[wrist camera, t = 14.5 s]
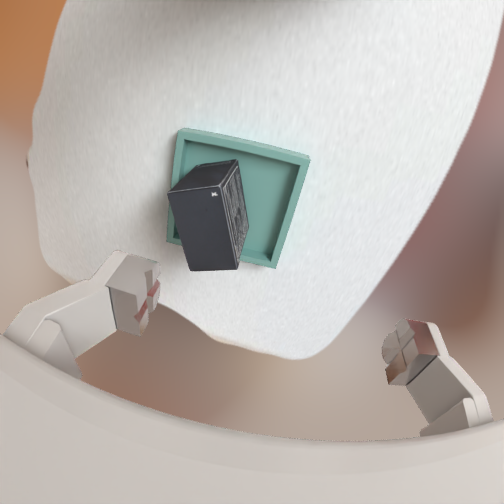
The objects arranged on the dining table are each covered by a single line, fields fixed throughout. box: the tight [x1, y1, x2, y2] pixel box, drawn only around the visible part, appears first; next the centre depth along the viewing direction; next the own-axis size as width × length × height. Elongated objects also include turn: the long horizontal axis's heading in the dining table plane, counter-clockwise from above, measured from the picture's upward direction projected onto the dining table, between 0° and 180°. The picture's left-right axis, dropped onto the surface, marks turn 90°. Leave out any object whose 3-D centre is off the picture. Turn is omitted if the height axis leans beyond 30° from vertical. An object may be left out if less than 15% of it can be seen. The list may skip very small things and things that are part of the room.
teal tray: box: [167, 128, 310, 269], centre depth 38 cm, size 17×17×3 cm
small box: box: [167, 159, 249, 271], centre depth 35 cm, size 11×6×10 cm, turn 8°
